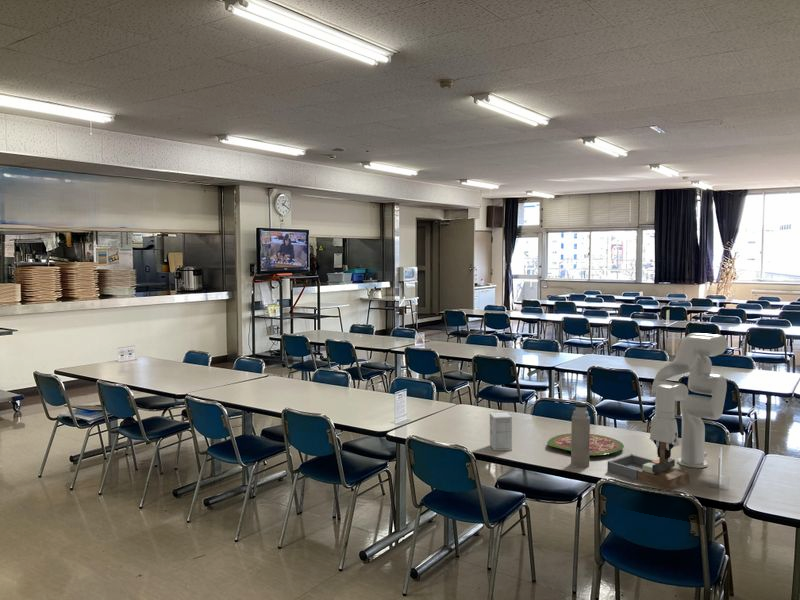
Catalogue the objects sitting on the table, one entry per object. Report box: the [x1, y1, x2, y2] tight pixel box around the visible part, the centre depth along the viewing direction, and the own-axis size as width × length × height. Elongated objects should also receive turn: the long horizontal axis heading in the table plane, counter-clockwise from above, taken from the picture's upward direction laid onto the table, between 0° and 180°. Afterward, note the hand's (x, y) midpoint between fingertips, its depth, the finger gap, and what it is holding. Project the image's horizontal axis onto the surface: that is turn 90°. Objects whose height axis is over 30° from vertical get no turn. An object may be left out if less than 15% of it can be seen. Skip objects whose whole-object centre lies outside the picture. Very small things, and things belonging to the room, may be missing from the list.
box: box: [606, 453, 656, 481], centre depth 275 cm, size 18×14×4 cm
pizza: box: [546, 433, 625, 457], centre depth 312 cm, size 35×35×2 cm
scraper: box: [652, 442, 676, 473], centre depth 263 cm, size 14×2×14 cm, turn 127°
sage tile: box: [642, 462, 654, 474], centre depth 264 cm, size 5×5×2 cm
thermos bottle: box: [570, 402, 591, 469], centre depth 284 cm, size 8×8×28 cm
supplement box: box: [489, 412, 513, 451], centre depth 310 cm, size 10×9×17 cm
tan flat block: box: [636, 467, 690, 491], centre depth 264 cm, size 16×14×4 cm
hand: (663, 457), depth 263 cm, fingers closed on scraper, 2 cm apart
